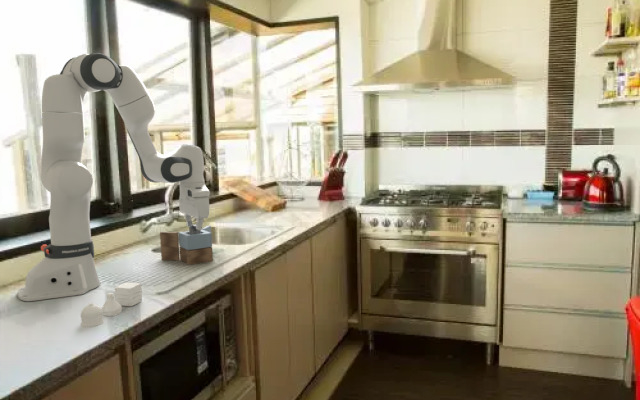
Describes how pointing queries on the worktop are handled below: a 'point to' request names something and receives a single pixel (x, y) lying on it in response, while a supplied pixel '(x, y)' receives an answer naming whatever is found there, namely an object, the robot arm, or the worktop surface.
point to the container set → (112, 304)
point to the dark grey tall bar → (193, 230)
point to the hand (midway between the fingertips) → (194, 227)
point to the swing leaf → (196, 239)
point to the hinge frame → (182, 250)
